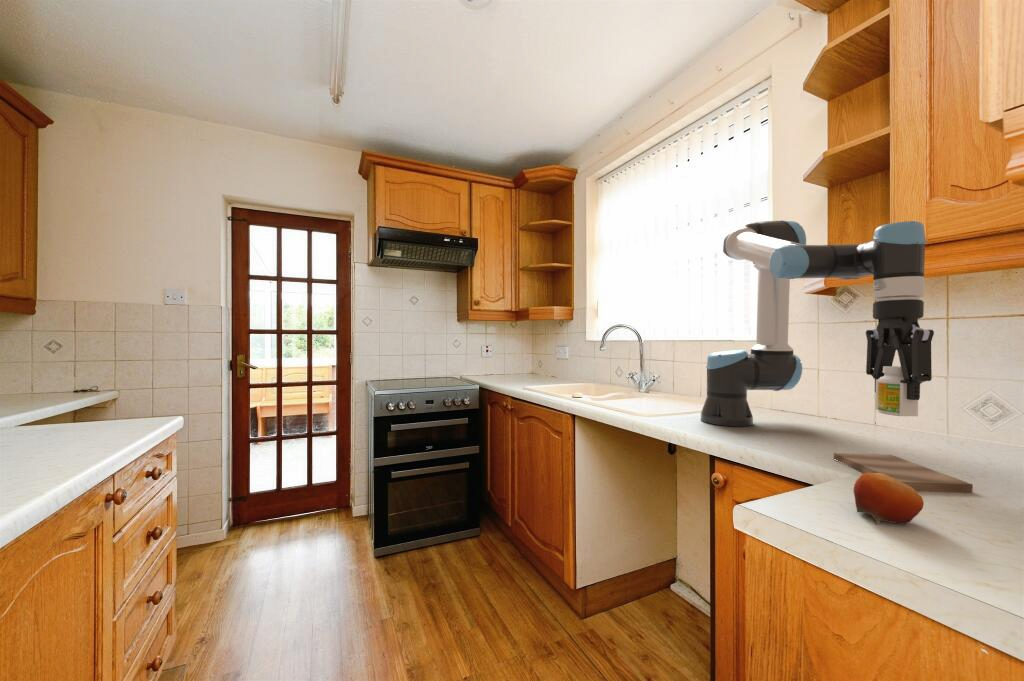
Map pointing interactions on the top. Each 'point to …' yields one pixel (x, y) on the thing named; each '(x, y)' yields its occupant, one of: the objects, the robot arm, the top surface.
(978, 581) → the top surface
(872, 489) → the fruit
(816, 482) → the top surface
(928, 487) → the walnut board
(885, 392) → the supplement bottle
